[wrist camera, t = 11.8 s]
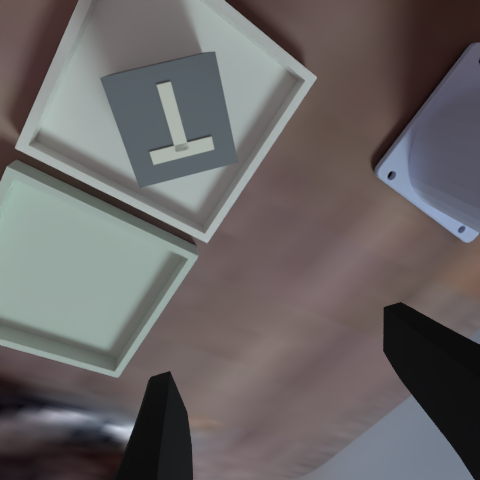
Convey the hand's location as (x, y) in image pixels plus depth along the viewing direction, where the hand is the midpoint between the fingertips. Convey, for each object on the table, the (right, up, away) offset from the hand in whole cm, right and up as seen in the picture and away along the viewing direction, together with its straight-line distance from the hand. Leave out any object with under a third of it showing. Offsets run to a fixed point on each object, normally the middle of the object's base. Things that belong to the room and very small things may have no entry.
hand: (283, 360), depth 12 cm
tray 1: (-5, +10, +5) cm, 12 cm away
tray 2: (-10, +2, +8) cm, 13 cm away
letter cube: (-5, +10, +5) cm, 12 cm away
